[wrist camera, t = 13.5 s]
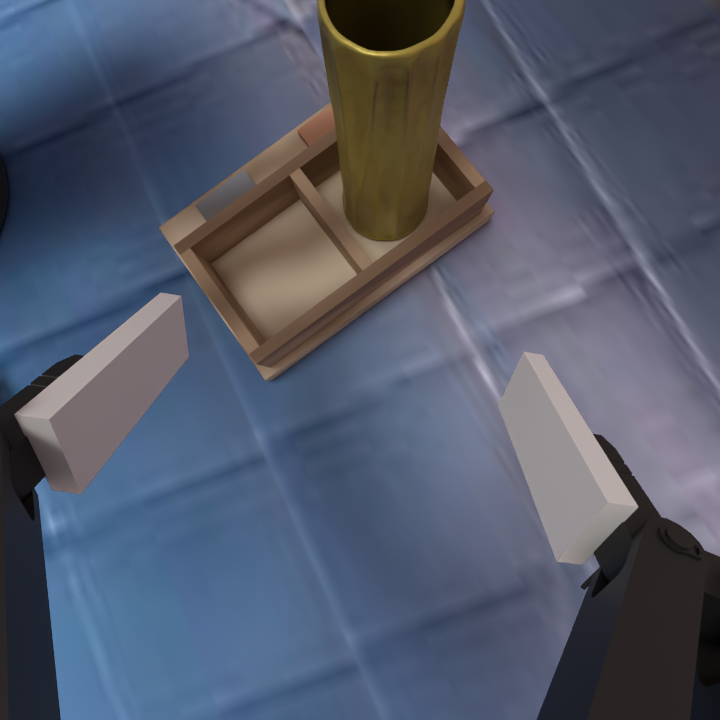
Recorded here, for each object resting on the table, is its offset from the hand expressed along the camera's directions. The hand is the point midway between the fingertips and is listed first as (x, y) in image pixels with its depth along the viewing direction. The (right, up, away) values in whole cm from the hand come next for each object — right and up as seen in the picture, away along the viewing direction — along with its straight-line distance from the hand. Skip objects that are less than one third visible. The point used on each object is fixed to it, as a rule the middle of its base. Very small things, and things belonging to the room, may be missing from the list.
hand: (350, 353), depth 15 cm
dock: (-2, +10, +14) cm, 17 cm away
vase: (+2, +11, +12) cm, 17 cm away
